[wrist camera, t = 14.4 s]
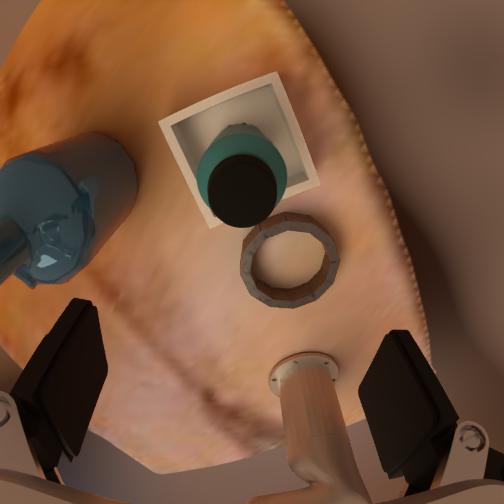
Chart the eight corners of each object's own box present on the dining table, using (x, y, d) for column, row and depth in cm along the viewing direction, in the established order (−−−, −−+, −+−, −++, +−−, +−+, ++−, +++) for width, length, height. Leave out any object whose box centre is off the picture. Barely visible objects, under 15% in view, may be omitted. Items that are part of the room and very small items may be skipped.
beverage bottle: (228, 185, 37) (219, 271, 19) (202, 136, 34) (161, 174, 16) (279, 161, 36) (320, 225, 18) (253, 110, 33) (271, 117, 15)
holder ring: (341, 276, 44) (347, 288, 42) (261, 306, 46) (262, 319, 43) (317, 199, 39) (322, 206, 36) (226, 234, 41) (225, 244, 38)
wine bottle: (83, 111, 32) (-128, 173, 6) (161, 170, 37) (14, 338, 10) (39, 194, 37) (-116, 320, 10) (108, 248, 41) (-4, 429, 14)
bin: (310, 174, 38) (320, 184, 33) (213, 213, 39) (209, 228, 35) (271, 75, 32) (276, 70, 28) (168, 119, 34) (157, 121, 29)
